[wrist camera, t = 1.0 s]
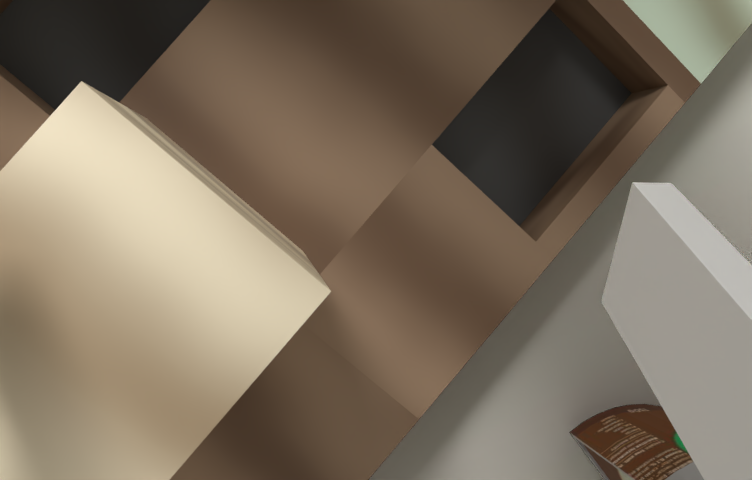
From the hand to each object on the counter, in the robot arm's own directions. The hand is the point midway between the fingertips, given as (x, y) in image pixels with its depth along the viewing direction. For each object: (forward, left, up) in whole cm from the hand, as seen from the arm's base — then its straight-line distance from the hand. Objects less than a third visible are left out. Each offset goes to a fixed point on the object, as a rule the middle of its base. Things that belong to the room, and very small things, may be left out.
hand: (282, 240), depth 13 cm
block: (0, -5, -12) cm, 13 cm away
